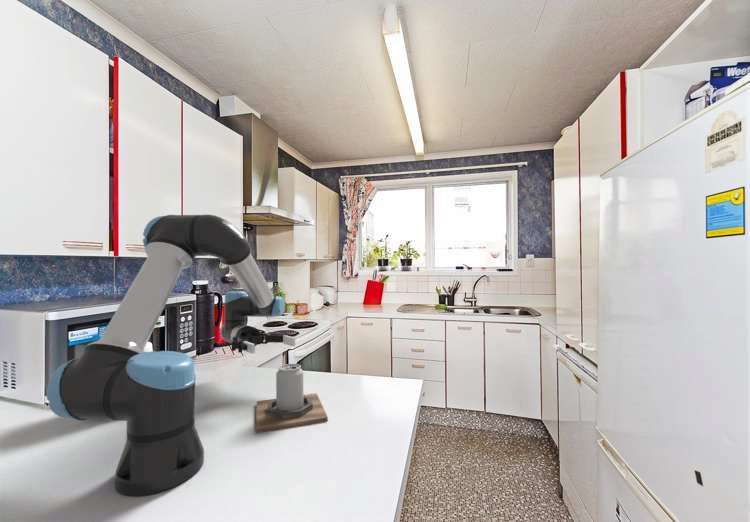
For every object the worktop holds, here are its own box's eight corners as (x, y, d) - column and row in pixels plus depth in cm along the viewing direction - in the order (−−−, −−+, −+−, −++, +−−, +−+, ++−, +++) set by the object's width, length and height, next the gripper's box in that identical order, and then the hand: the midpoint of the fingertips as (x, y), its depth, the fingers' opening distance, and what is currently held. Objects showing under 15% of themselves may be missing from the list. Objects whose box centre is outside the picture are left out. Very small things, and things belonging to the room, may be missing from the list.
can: (308, 407, 94) (308, 365, 95) (285, 416, 89) (285, 372, 89) (293, 400, 99) (293, 360, 100) (271, 409, 94) (271, 366, 94)
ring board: (327, 420, 89) (327, 411, 89) (256, 432, 83) (256, 422, 83) (316, 396, 106) (316, 388, 106) (256, 404, 100) (256, 396, 100)
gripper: (278, 341, 126) (309, 350, 111) (208, 353, 109) (233, 365, 94) (278, 322, 126) (309, 328, 111) (208, 330, 109) (234, 338, 94)
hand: (274, 345), depth 102 cm, fingers open, 13 cm apart
